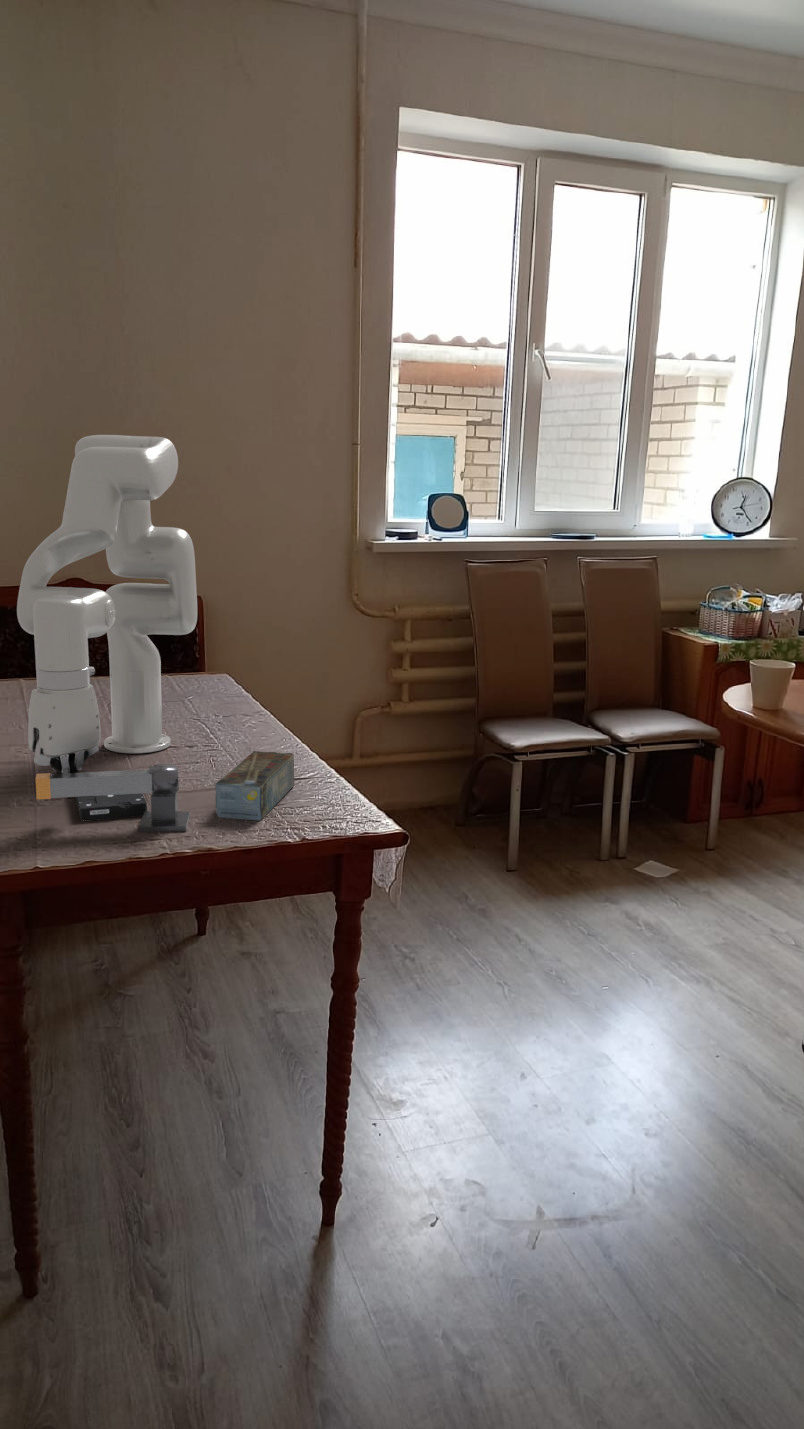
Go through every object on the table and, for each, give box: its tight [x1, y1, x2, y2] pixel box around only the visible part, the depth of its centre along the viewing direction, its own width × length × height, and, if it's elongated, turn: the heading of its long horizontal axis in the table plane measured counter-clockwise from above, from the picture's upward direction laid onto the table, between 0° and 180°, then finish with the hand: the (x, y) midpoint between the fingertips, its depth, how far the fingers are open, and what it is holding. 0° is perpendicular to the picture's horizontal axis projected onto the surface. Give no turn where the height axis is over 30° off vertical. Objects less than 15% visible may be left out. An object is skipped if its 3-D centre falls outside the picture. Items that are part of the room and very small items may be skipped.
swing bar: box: [35, 763, 180, 800], centre depth 159 cm, size 21×4×4 cm, turn 105°
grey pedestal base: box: [138, 791, 191, 833], centre depth 162 cm, size 7×7×5 cm
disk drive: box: [74, 793, 148, 822], centre depth 171 cm, size 10×3×15 cm
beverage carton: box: [215, 750, 295, 822], centre depth 174 cm, size 8×19×7 cm, turn 169°
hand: (69, 795), depth 161 cm, fingers closed
